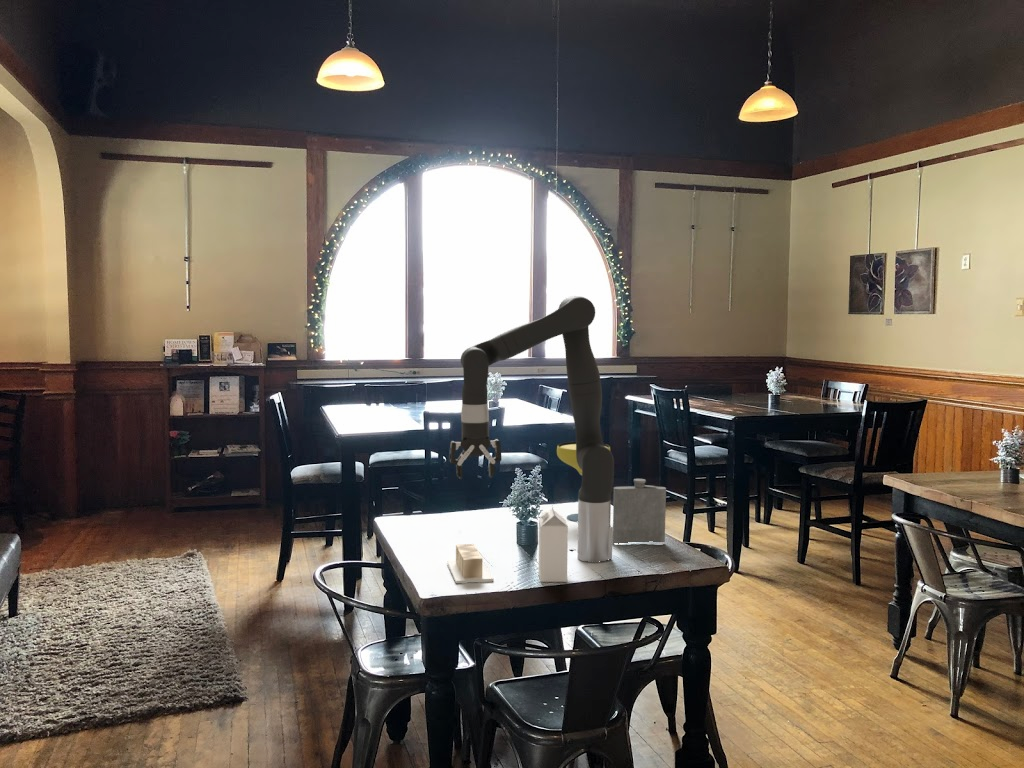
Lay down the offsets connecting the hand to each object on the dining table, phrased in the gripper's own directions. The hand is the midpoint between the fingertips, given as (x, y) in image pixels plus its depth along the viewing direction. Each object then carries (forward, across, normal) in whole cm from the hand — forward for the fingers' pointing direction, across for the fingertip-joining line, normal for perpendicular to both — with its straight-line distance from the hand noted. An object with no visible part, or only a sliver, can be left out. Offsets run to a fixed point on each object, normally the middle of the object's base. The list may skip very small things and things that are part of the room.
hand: (475, 477), depth 237 cm
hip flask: (+26, +52, +9) cm, 59 cm away
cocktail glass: (+25, +45, +43) cm, 67 cm away
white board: (+24, -3, -8) cm, 26 cm away
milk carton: (+25, +17, -17) cm, 35 cm away
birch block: (+21, -4, 0) cm, 21 cm away
